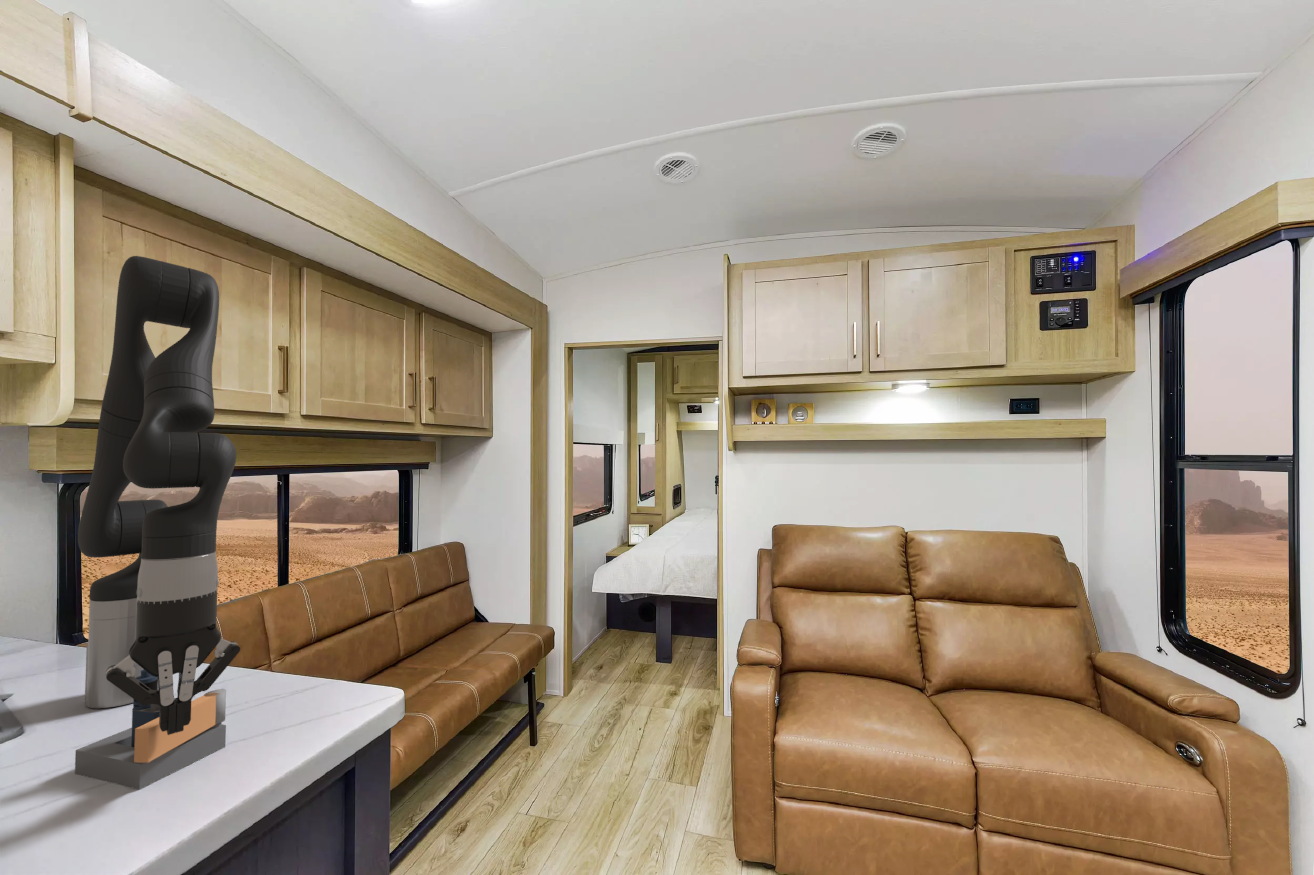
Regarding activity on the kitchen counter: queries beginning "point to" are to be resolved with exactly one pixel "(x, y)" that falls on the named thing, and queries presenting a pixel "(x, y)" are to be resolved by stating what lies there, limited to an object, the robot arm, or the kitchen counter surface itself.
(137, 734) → the orange bar
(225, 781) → the kitchen counter surface
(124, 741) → the socket block
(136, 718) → the vaping device
